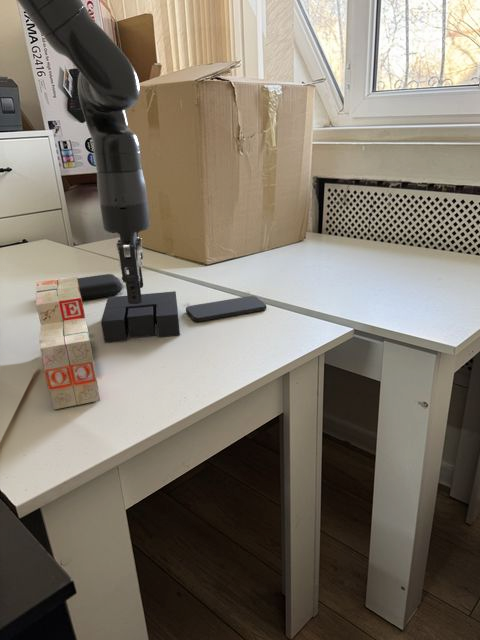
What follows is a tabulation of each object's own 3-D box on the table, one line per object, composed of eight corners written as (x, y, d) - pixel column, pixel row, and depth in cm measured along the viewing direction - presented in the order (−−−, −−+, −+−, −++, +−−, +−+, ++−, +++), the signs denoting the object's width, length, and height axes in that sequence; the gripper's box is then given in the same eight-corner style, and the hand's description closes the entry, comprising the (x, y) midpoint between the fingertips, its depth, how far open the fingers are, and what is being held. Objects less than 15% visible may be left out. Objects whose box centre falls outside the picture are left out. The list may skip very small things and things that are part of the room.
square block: (130, 338, 90) (127, 317, 88) (131, 328, 94) (128, 308, 92) (155, 335, 90) (152, 314, 89) (155, 326, 94) (153, 306, 93)
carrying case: (116, 282, 120) (50, 292, 115) (114, 269, 119) (48, 279, 114) (125, 295, 111) (54, 306, 106) (123, 281, 110) (51, 292, 105)
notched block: (104, 342, 88) (100, 321, 86) (111, 316, 100) (107, 297, 98) (179, 335, 90) (177, 314, 88) (177, 310, 102) (175, 291, 100)
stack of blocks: (101, 401, 70) (85, 318, 65) (53, 411, 68) (32, 326, 63) (90, 343, 88) (77, 275, 83) (52, 350, 86) (36, 280, 81)
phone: (268, 306, 100) (195, 318, 94) (268, 310, 100) (195, 322, 95) (253, 295, 106) (184, 306, 100) (253, 298, 106) (184, 310, 101)
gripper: (104, 195, 88) (117, 285, 95) (94, 208, 75) (110, 310, 82) (148, 193, 89) (158, 282, 96) (146, 205, 76) (158, 307, 83)
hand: (136, 295), depth 89 cm, fingers open, 8 cm apart
